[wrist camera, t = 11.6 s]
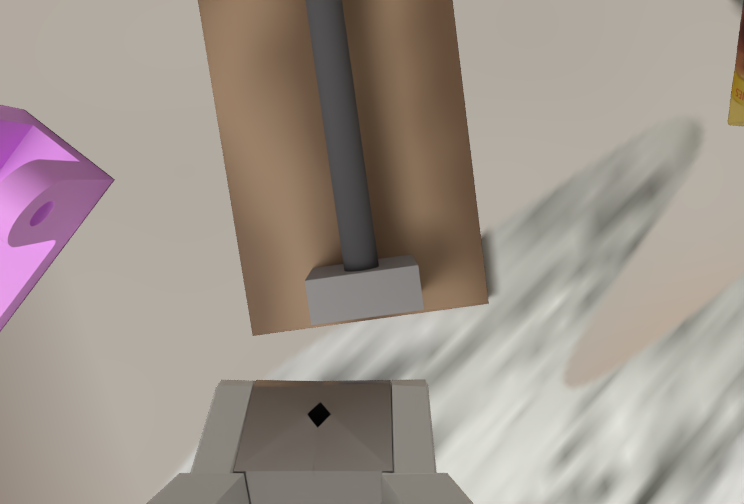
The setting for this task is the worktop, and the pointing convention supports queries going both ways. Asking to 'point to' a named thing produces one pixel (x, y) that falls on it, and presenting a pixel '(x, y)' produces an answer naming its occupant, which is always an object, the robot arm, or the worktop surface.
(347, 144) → the dark grey bar
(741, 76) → the candy box
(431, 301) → the board
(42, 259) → the bracket
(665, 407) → the worktop surface
